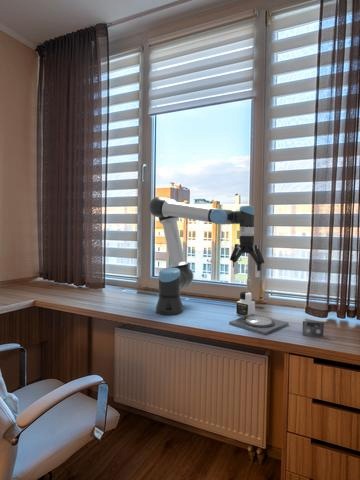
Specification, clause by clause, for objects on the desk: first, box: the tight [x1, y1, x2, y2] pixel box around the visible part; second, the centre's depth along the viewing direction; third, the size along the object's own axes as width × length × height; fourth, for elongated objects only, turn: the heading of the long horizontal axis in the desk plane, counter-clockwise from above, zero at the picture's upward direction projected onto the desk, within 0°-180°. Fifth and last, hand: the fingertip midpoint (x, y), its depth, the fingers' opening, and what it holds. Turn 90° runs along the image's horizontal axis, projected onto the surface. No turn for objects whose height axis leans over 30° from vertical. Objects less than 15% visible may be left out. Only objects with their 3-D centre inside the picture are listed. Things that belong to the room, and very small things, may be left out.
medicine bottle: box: [235, 291, 256, 317], centre depth 166 cm, size 7×7×12 cm
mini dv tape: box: [301, 320, 325, 338], centre depth 135 cm, size 8×2×6 cm, turn 75°
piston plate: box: [228, 313, 289, 336], centre depth 149 cm, size 20×20×2 cm
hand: (246, 275), depth 165 cm, fingers open, 13 cm apart
